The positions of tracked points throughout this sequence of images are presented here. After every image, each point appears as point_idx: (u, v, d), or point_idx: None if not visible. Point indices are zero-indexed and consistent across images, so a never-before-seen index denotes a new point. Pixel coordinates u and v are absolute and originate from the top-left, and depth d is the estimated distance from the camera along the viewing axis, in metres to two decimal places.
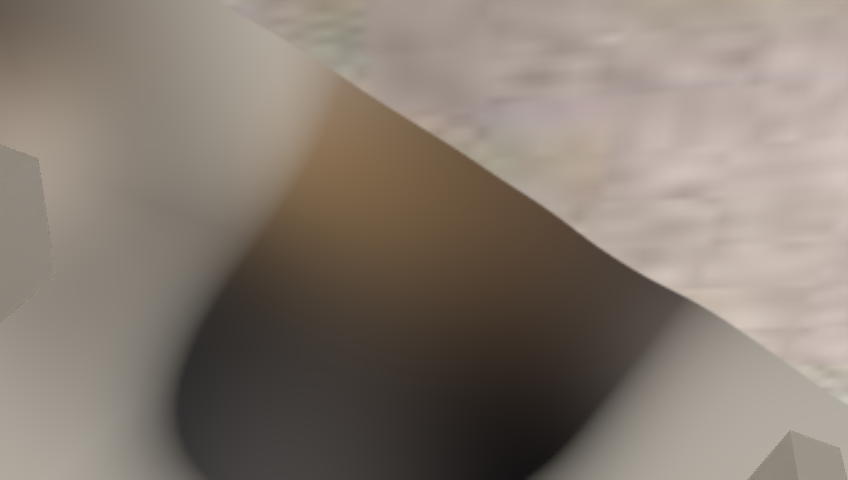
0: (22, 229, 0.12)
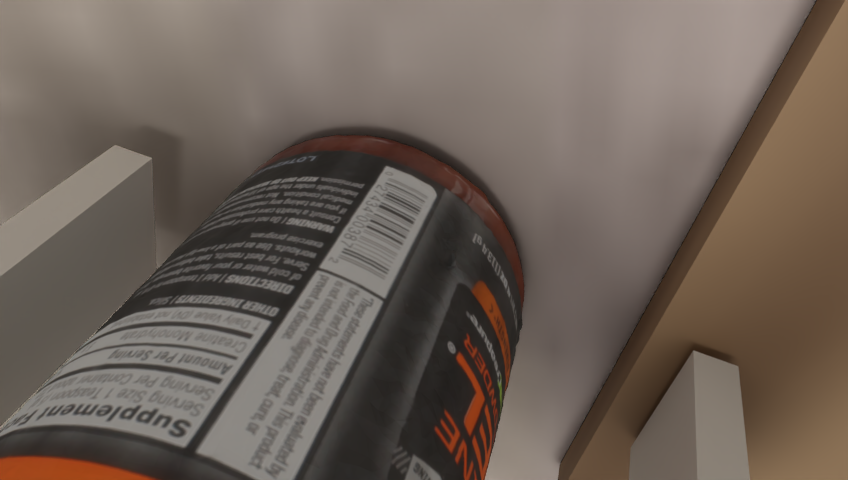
0: (135, 225, 0.13)
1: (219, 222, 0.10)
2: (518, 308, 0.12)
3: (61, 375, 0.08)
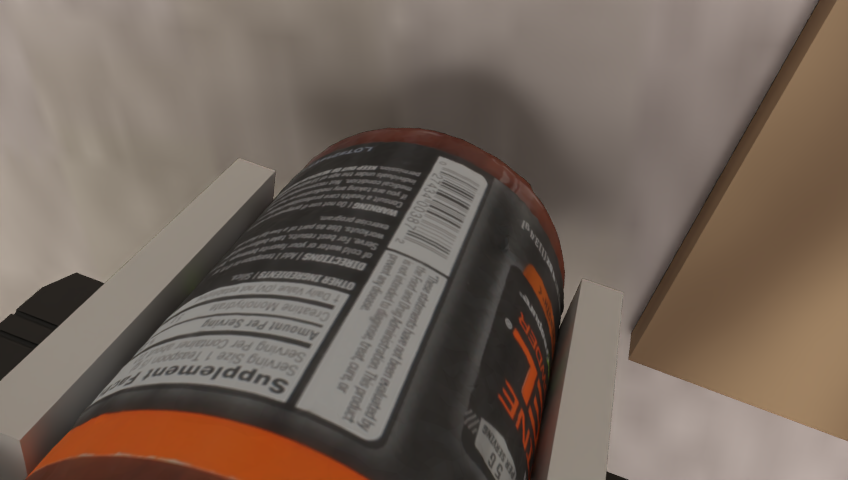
0: None
1: (286, 207, 0.11)
2: (561, 292, 0.13)
3: (156, 343, 0.09)
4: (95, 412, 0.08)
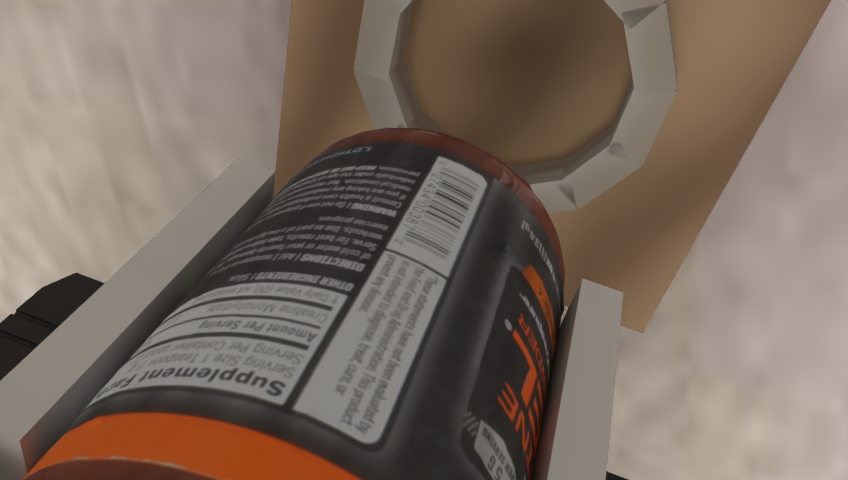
0: None
1: (285, 207, 0.11)
2: (561, 293, 0.12)
3: (152, 344, 0.09)
4: (91, 414, 0.08)
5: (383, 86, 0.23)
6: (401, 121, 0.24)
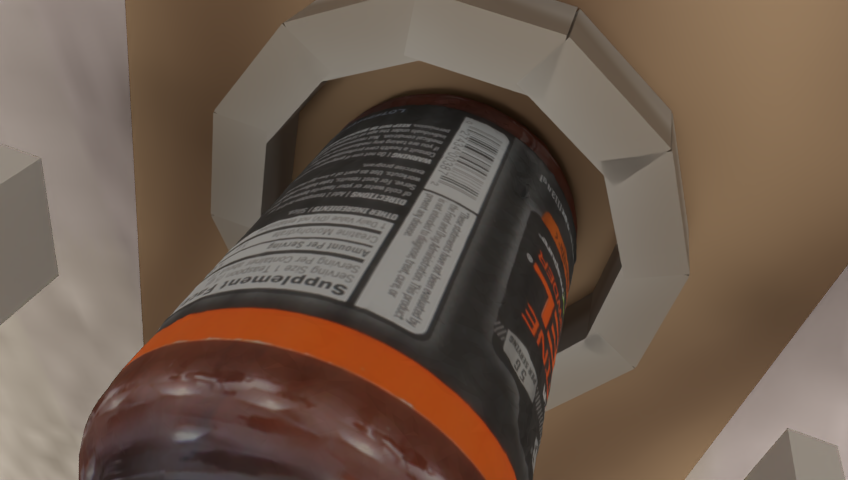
0: (25, 229, 0.12)
1: (331, 158, 0.12)
2: (574, 243, 0.14)
3: (226, 264, 0.10)
4: (180, 315, 0.09)
5: None
6: None
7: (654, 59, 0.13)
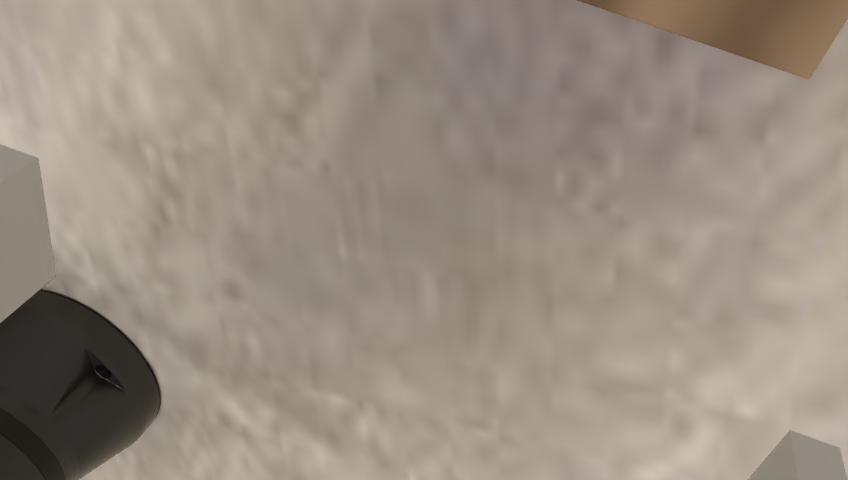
0: (22, 229, 0.12)
1: None
2: None
3: None
4: None
5: None
6: None
7: None
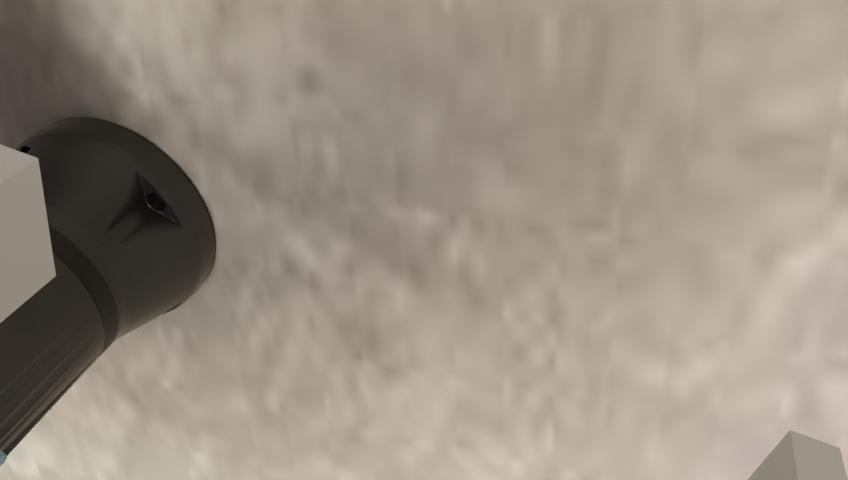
0: (22, 229, 0.12)
1: None
2: None
3: None
4: None
5: None
6: None
7: None
